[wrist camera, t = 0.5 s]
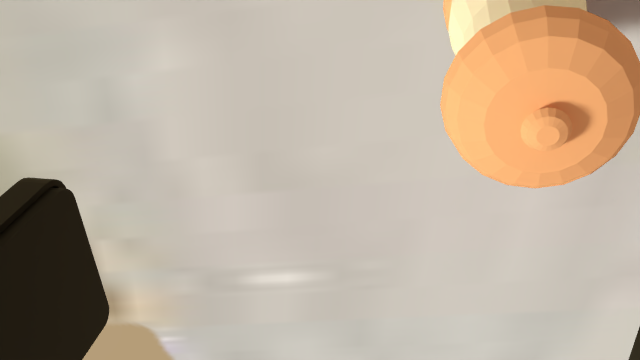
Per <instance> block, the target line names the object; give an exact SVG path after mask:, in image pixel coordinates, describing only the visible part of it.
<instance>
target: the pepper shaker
mask: <svg viewBox="0 0 640 360" xmlns="http://www.w3.org/2000/svg"><path fill="white" fill-rule="evenodd" d="M443 10H444V16H445V21H446V26H447V30H448V31H449V35H450V41H451V46H452V49H453V51H454V53H455V55H456V56H455V58H454V60H453V62H452V64H451V66H450V68H449V70H448V72H447V74H446V76H445V78H444V84H443V90H442V97H441V104H440V106H441V111H442V116H443V121H444V125H445V130H446V132H447V134H448V135H449V137H450V139H451V140H452V142H453V143H454V145H455V147H456V148H457V150H458V152H459V153H460V155H461V156H462V158H463V159H464V160H465V161H467V162H468V163H469V164H470V165H471V166H473V167H474V168H475V169H476V170H477V171H479V172H480V173H481V174H482V175H484V176H487V177H489V178H492V179H494V180H497V181H499V182H501V183H504V184H506V185H512V186H521V187H529V188H541V187H549V186H556V185H564V184H566V183H569V182H571V181H574V180H576V179H579V178H581V177H584V176H586V175H589V174H591V173H593V172H594V171H596V170H597V169H598V168H600V167H601V166H602V165H604V164H605V163H606V162H608V161H609V160H610V159H612V158H613V157H615V156H616V155H617V153H618V152H619V151H620V149H621V148H622V147H623V145H624V144H625V143H626V142H627V140H628V139H629V138H630V136H631V135H632V134H633V132H634V130H635V127H636V124H637V121H638V118H639V115H640V62H639V59H638V57H637V55H636V53H635V50H634V48H633V46H632V44H631V42H630V41H629V40H628V39H627V38H626V37H625V36H624V35H623V34H622V33H621V32H620V31H619V30H618V29H617V28H616V27H615V26H614V25H613V24H612V23H610V22H609V21H608V20H606V19H603V18H601V17H599V16H596V15H594V14H592V13H589V12H587V6H586V0H444V5H443Z"/></svg>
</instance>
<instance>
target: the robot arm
mask: <svg viewBox="0 0 640 360" xmlns="http://www.w3.org/2000/svg"><path fill="white" fill-rule="evenodd" d="M108 316H109V305H108V301H107V298H106V295H105V292H104V289H103V285H102V282H101V279H100V276H99V273H98V270H97V266H96V263H95V260H94V257H93V254H92V250H91V247H90V244H89V241H88V238H87V235H86V231H85V228H84V225H83V222H82V219H81V216H80V212H79V209H78V206H77V203H76V200H75V197H74V195H73V193H72V192H71V191H70V190H68V189H66V187H65V185H64V184H63V183H62V182H61V181H59V180H54V179H40V178H23V179H21V180H20V181H18V182H17V183H16V184H15V185H13V186H12V187H11V188H10V189H9V190H7V191H6V192H5V193H4V194H3V195H2V196H0V360H82V359H83V358H84V356H85V355H86V353H87V352H88V350H89V349H90V347H91V345H92V344H93V343H94V341H95V340H96V338H97V337H98V335H99V334H100V333H101V331H102V330H103V328H104V326H105V325H106V323H107V320H108ZM629 360H640V327H639V330H638V333H637V336H636V339H635V342H634V345H633V348H632V351H631V354H630V357H629Z"/></svg>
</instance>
